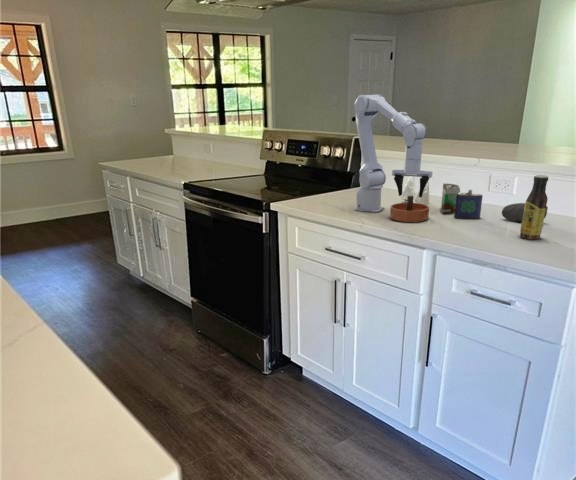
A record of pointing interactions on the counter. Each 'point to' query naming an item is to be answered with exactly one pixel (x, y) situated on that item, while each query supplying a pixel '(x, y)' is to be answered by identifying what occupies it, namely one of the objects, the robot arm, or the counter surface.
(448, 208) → the food container
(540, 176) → the sauce bottle
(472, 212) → the flask
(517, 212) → the perforated stone tool
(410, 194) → the shaker set
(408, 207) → the stick
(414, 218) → the bowl
